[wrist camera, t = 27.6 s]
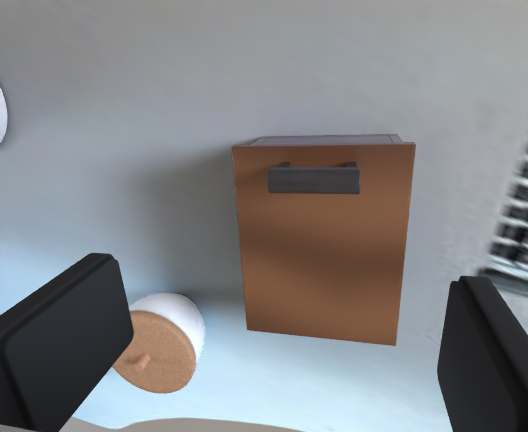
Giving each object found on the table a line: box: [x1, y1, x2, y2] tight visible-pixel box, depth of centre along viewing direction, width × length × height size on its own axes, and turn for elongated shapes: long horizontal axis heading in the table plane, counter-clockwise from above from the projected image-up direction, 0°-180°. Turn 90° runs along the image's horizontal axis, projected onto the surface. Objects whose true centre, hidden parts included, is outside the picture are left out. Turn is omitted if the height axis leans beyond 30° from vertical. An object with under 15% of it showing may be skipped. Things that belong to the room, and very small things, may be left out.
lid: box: [232, 142, 416, 346], centre depth 26 cm, size 16×13×5 cm
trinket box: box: [113, 292, 205, 393], centre depth 41 cm, size 11×11×9 cm
